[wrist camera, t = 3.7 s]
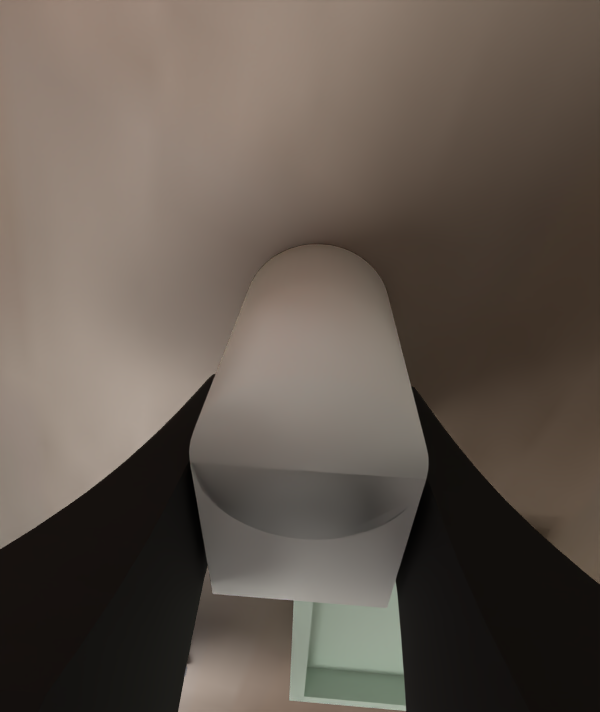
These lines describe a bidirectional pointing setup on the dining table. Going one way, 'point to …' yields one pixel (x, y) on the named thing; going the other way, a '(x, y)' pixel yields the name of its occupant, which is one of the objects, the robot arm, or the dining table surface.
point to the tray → (347, 655)
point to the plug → (310, 438)
